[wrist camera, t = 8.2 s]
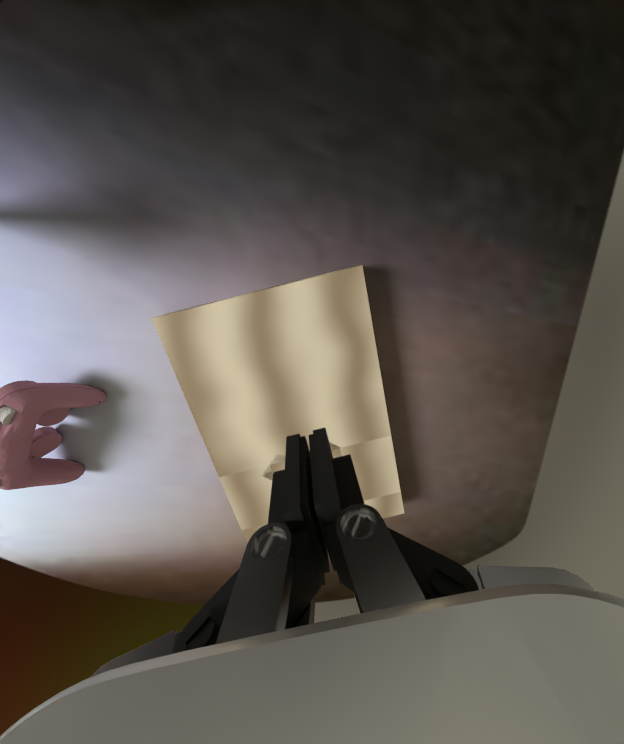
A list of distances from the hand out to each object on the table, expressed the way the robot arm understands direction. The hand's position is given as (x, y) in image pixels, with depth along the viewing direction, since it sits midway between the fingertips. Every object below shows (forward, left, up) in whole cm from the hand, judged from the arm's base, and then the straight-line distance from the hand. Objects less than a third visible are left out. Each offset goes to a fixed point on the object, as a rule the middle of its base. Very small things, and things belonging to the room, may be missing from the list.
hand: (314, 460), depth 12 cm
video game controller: (+22, 0, -15) cm, 27 cm away
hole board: (+2, +5, -14) cm, 15 cm away
